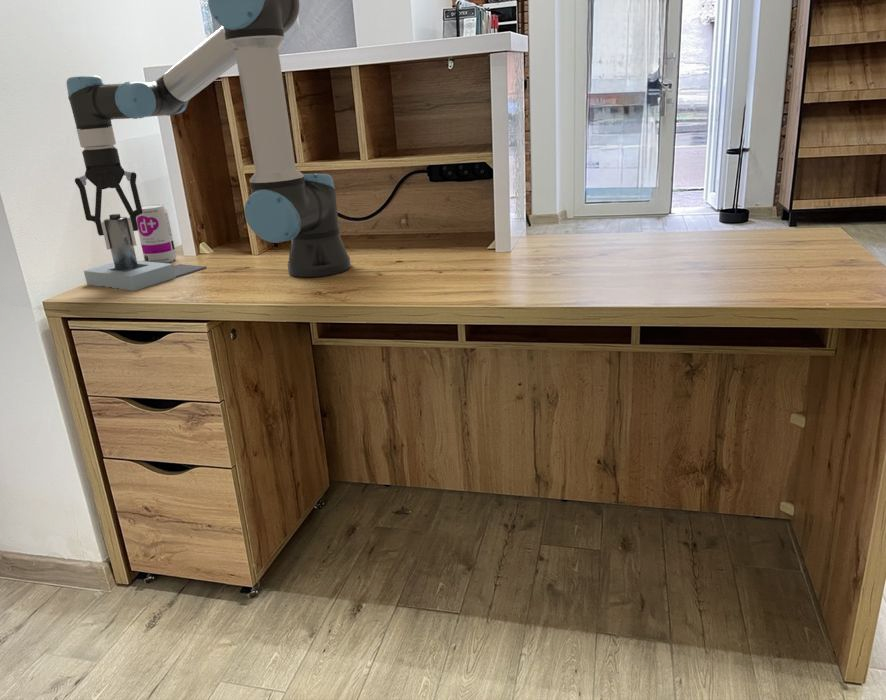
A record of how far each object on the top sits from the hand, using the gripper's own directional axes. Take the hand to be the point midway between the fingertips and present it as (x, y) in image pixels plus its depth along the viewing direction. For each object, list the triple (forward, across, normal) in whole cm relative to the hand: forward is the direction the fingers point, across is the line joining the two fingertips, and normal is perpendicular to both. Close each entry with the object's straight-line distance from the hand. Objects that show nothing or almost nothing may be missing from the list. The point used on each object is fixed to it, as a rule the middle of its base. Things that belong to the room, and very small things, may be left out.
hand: (121, 246), depth 170 cm
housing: (+9, 0, +1) cm, 9 cm away
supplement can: (+9, -9, -19) cm, 23 cm away
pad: (+9, -12, -2) cm, 15 cm away
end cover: (+5, 0, 0) cm, 5 cm away
